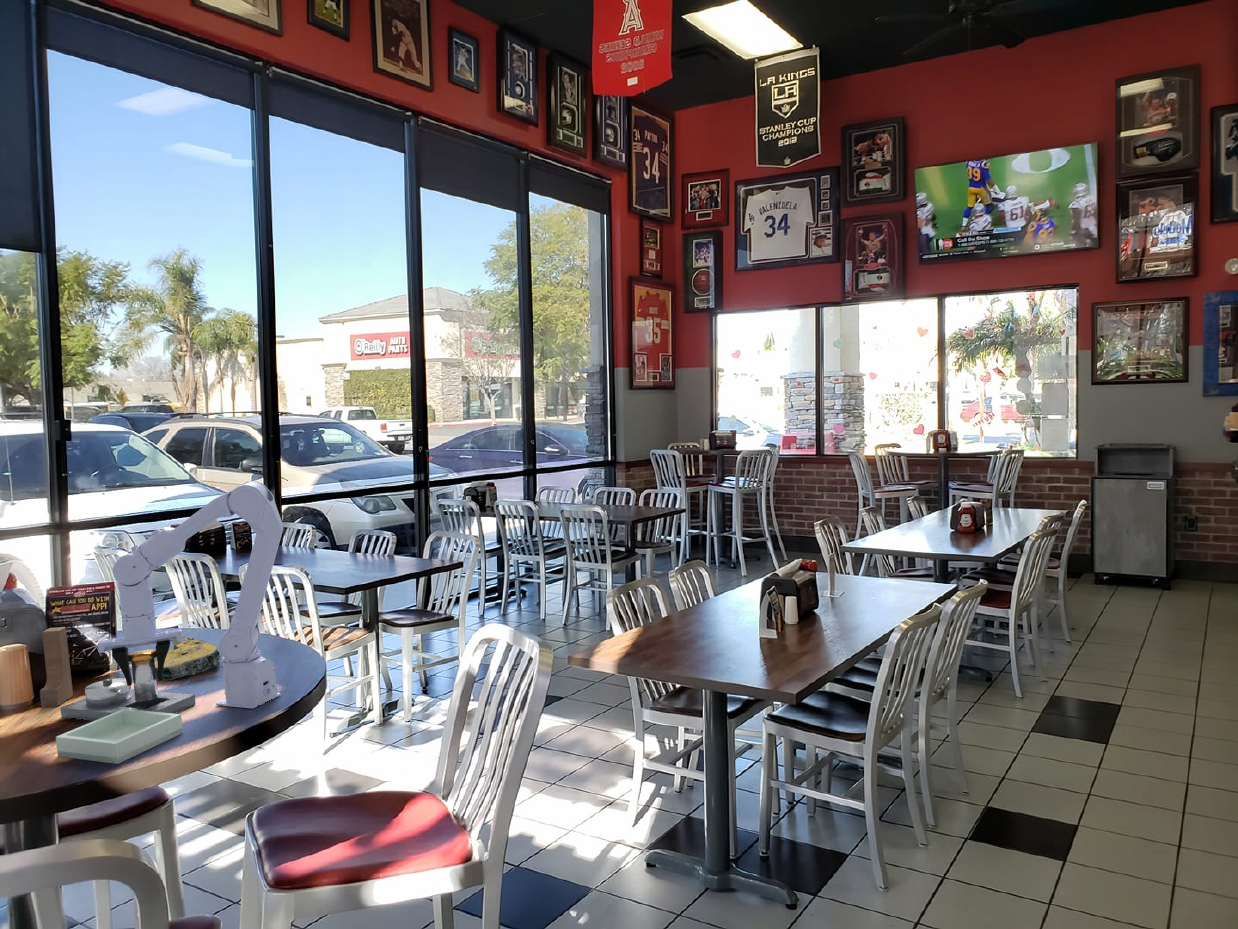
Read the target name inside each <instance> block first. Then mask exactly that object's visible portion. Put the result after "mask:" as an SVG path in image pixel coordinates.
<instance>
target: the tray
mask: <svg viewBox="0 0 1238 929" xmlns="http://www.w3.org/2000/svg"><path fill="white" fill-rule="evenodd" d="M182 720H183V718H182V714H181V713H175V714H173V713H163V712H152V711H142V710H132V709H122V710H120V711H117V712H115V713H112V714H110V715H107V716H105V717H103V718H100V719H98V720H95V721H91V722H88V723H86V724H83V725H82V726H79V727H76V728H74V729H72V730H69V731H66V732H64V733H62V734H60V735H57V736H55V742H56V751H57V757H60V758H61V757H62V758H68V759H69V758H70V759H76V760H83V761H85V760H86V761H92V762H101V763H109V764H114V765H115V764H117V765H118V764H121V763H122V762H123V763H124V762H125V761H127V760H130V759H131V758H133V757H135V756H137V755H139V754H142V753H144V752H145V751H148V750H150V749H151V748H154V747H156V746H159V745H160V744H163V743H165V742H166V741H169V740H171V739H173V738H175V737H177V736H180V735H182V734H184V728H183V721H182Z"/></svg>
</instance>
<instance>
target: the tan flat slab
mask: <svg viewBox="0 0 1238 929" xmlns="http://www.w3.org/2000/svg"><path fill="white" fill-rule="evenodd" d="M171 643H172V644H173V647H171V648H169V650H168V653H167V656H166V659H165V663H164V667H163V680H162V681H173V680H177V679H180V678H183V677H186V676H196V675H197V674H199V673H201V672H206V671H207V670H210V669H212V668H214V667H217V666H218V667H219V665H221V663H220V661H221V660H222V658H221V657H223V655H222V654H221V652H220V650H219V649H218V647H217V646H216V645H213V644H211V643H209V642H207V641H204V640H201V639H196V638H194V637H190V636H189V637H188V636H183V635H182V641H171ZM218 650H219V651H218ZM155 670H156V681H158V663H157V659H155Z"/></svg>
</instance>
